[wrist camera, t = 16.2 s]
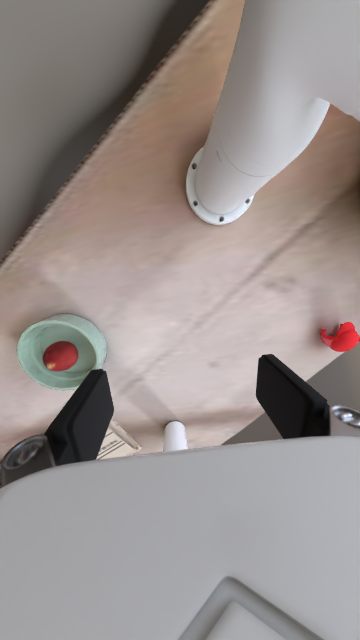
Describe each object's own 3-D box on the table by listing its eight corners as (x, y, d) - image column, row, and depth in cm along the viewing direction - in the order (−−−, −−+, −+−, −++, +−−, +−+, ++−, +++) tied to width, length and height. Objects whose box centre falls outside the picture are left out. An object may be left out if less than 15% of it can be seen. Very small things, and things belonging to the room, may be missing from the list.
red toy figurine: (346, 336, 43) (374, 347, 37) (324, 350, 44) (347, 363, 38) (334, 311, 41) (361, 318, 35) (311, 326, 42) (334, 336, 36)
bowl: (25, 316, 37) (4, 323, 32) (100, 310, 38) (91, 317, 33) (46, 379, 41) (30, 393, 37) (113, 373, 42) (106, 386, 37)
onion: (57, 357, 39) (31, 380, 32) (56, 333, 38) (28, 351, 30) (85, 360, 40) (65, 382, 32) (85, 336, 38) (64, 354, 31)
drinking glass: (157, 425, 47) (152, 494, 33) (179, 413, 47) (183, 479, 32) (170, 441, 49) (171, 512, 35) (191, 430, 49) (201, 498, 34)
